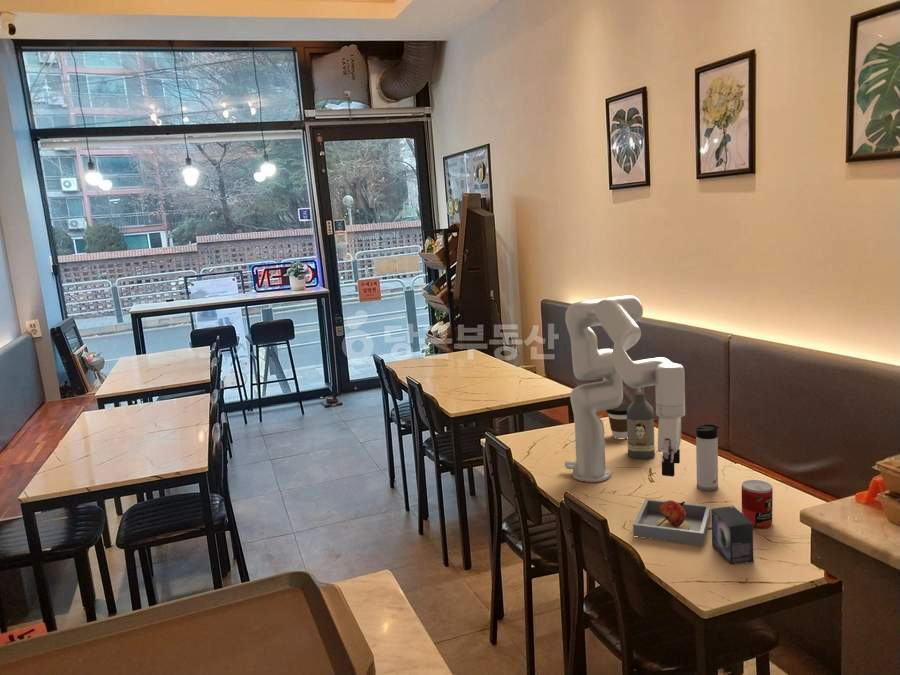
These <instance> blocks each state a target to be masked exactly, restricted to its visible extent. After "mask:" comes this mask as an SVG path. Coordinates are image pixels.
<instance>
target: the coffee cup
mask: <svg viewBox="0 0 900 675" xmlns="http://www.w3.org/2000/svg"><path fill="white" fill-rule="evenodd" d="M629 405H630V403H629V404H628V403H621V405H620V406H619V407H617V408H613V409H608V410H605V411H606V413H607V414H608V421H609V427H610V430H611V433H612V437H613V436H614V437H616V438H627V409H628V407H629ZM614 437H613V438H614ZM616 438H615V439H616Z"/></svg>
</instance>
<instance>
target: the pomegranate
mask: <svg viewBox="0 0 900 675" xmlns="http://www.w3.org/2000/svg"><path fill="white" fill-rule="evenodd" d="M664 501H665V502H664V503H663V504H662V505H661V507H660V512H661V513H662V514H663V515H664V517H665V516H666V517H665V519H664V520H663V521H662V522H661V523H660V524H659V525H661V524H662V523H663V522H664V521H665V520H668V521H669V522H670V523H672V525H673V526H674V527H677V526H679V525H681V524H682V523H683V522H684V520H685V518H686V513H685V510H684V509H683V504H684V503H686V502H685V501H682V502H680V503H677V502H678V501H674V500H671V499H669V500H664ZM659 525H657V526H659Z"/></svg>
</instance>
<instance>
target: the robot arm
mask: <svg viewBox="0 0 900 675" xmlns="http://www.w3.org/2000/svg"><path fill="white" fill-rule="evenodd" d="M643 313H644V309H643V304H642V303H641V301H640V300H639V298H637V297H636V296H635V295H630V294H628V295H620V296H612V297H611V296H610V297H604V298H597V299H588V300H587V299H586V300H581V301H577V302H574V303H572V304H570V305H569V306H568V307H567V309H566V311H565V317H564V321H565V324H566V329H567V331H568V334H569V337H570V338H569V339H570V346H571V347H570V348H571V349H570V350H571V359H572V360H571V362H572V363H571V364H572V370H573V374H574V376H575V377H574V378H576V379H577V380H579V381H591V380H597V379H602V381H596V382H591V383H590V382H589V383H584V384H581V385H577V386H575V387H574V388H573V389H572V390H571V392H570V396H569V397H570V398H569V400H570V404H571V408H572V412H573V421H574V438H575V456H576V457H575V458H576V459H575V460H574V461H571V460H565V461H564V467H565V468H566V469H568V470H572V472H571V474H572V477H573V479H575V480H577V481H579V480H580V482H583V481H585V482H586V483H599V482H604V481H606V480H608V479H610V478H611V471H610V470H609V469H608V468H606V448H605V447H606V445H605V426H604V422H603V421H602V419H601V418H600V417H599V415H598V414H597V413H598V412H601V411H606V410H608V409H613V408H617V407H619V406H620V405H621V404H623V399H624V386H623V385H624V384H625V385H626V386H628V387H629V388H632V389H635V388H641V387H644V388H645V387H651V386H654V387H655V391H654V392H655V415H656V416H658V427H657V428H658V429H657V452H658V453H661V452H662V457H661V476H662V477H663V476H664V477H671V478H672V477H674V476H676V474H675V464H680V463H681V461H680V460H681V456H680V455H681V454H680V453H681V451H680V446H681V441H682V440H681V439H682V418H683V417H684V416H686V384H685V383H686V382H685V379H686V378H685V376H686V375H685V374H686V373H685V368H684V366H683V365H682V364H680V363H676V362H673V361H671V360H670V359H668V358H667V357H662V356H659V357H653V358H652V357H651V358H645V359H644V358H643V359H638V360H633V359H631V357H629V354H628V353H627V351H628V350H630V349H631V348H632V347H634V346H635V345H636V344H637V343H638V341H640V338H641V336H642V331H641V328H640V327H639V325H638V324H637V322H639V321H640V320H641V319H642V318H643ZM599 326H601V327H602V328H603V330H604V331H605V333H606V334H607V336H608V337H609V338H610V340H611V341H612V342H613V347H612V348H608V347H607V348H600V349H599V348H598V347H599V346H598V337H597V335H596V332H594V330H593V329H592V328H591V327H599ZM623 383H624V384H623ZM585 482H584V483H585Z"/></svg>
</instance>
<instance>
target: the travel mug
mask: <svg viewBox="0 0 900 675" xmlns="http://www.w3.org/2000/svg"><path fill="white" fill-rule="evenodd" d="M719 427H720V426H719V425H718V424H709V423H707V424H702V425H701V424H700V425H698V426H696V429H695V433H696V434H695V446H696V447H695V449H696V450H695V451H696V452H695V455H696V456H695V457H696V460H695V461H696V487H697V489H699V490H701V491H705V492H706V491H707V492H710V491H711V492H712V491H715V490H718V488H719V459H718V457H719V455H718V454H719V450H718V448H719V447H718V446H719V444H718V442H719V440H718V438H719V437H718V429H720V428H719Z"/></svg>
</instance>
